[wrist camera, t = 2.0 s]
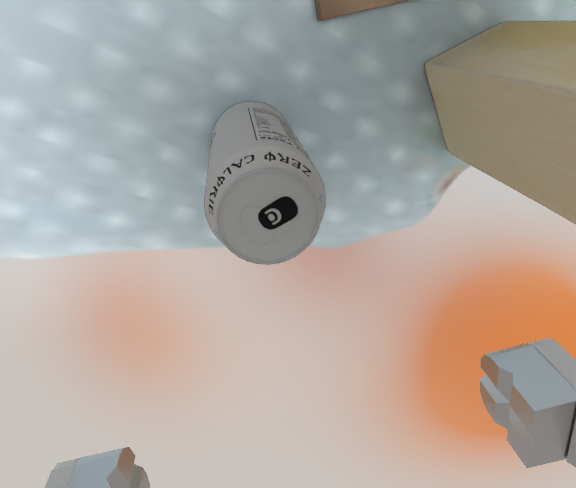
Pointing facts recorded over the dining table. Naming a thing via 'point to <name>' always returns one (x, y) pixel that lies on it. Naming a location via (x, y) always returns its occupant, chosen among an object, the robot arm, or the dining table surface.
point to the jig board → (346, 6)
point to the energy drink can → (261, 186)
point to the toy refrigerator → (514, 107)
